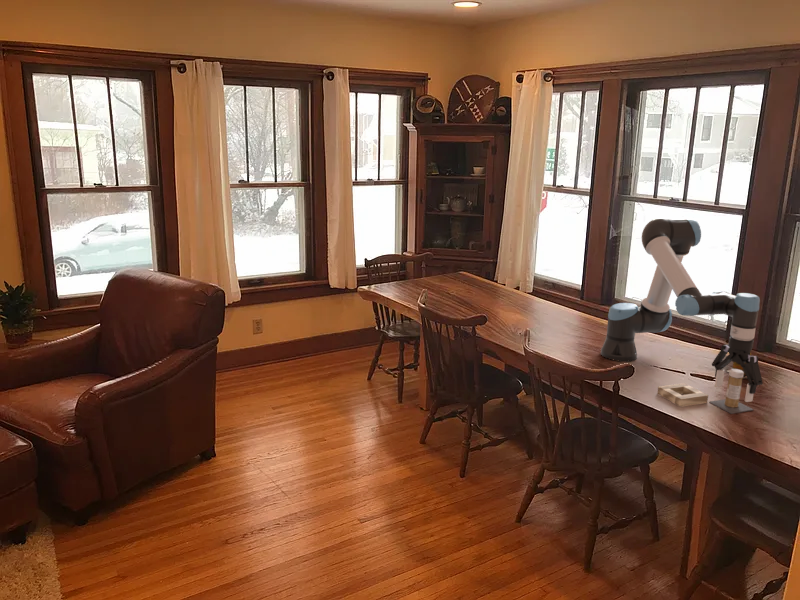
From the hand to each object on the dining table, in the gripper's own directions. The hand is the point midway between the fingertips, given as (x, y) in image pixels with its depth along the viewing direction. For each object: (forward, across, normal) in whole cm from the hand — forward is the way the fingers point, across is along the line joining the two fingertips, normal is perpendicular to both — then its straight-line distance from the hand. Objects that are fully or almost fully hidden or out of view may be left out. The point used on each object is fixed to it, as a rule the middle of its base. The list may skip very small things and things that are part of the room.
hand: (732, 393), depth 222 cm
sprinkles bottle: (+5, 0, 0) cm, 5 cm away
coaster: (+5, 0, 0) cm, 5 cm away
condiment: (+5, -24, +29) cm, 38 cm away
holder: (+5, -11, -12) cm, 17 cm away
